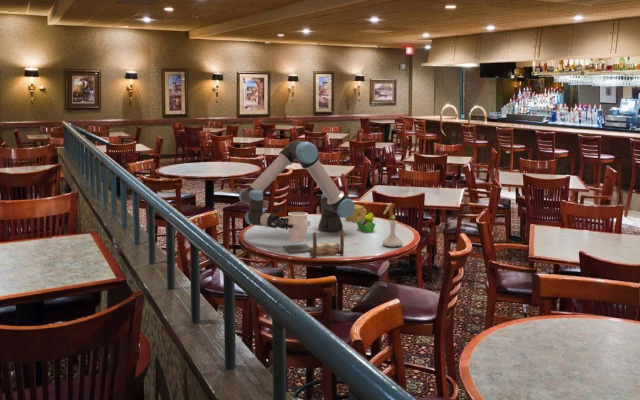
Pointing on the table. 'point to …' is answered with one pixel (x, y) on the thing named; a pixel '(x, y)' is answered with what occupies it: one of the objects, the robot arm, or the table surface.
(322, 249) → the board rack
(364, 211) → the cheese
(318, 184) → the robot arm
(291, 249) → the mat
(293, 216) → the jar
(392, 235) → the flower in vase
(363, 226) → the fruit basket
